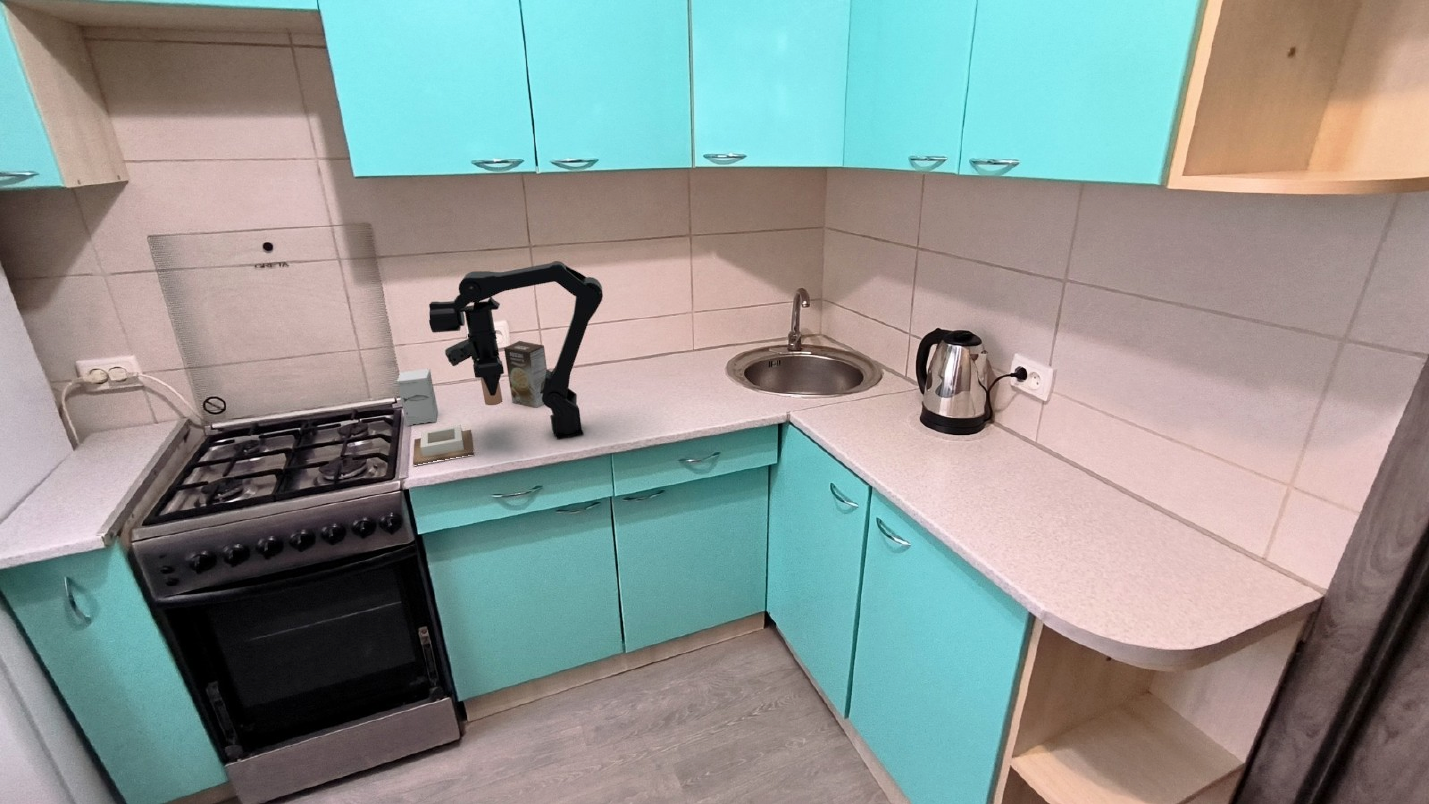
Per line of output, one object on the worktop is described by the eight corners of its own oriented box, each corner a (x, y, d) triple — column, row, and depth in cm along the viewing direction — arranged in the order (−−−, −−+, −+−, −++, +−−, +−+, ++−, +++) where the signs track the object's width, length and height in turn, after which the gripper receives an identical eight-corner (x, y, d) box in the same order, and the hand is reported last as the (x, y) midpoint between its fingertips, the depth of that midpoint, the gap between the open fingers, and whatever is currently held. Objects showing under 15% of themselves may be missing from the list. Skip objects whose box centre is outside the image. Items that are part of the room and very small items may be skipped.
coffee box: (511, 402, 185) (502, 347, 178) (527, 394, 190) (518, 340, 183) (536, 408, 181) (528, 351, 174) (552, 399, 186) (544, 344, 179)
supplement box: (406, 426, 172) (395, 381, 167) (409, 415, 179) (399, 371, 174) (436, 422, 174) (426, 377, 169) (439, 411, 180) (430, 367, 175)
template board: (471, 433, 167) (469, 420, 166) (473, 455, 156) (471, 442, 155) (415, 442, 163) (412, 429, 162) (413, 466, 152) (410, 453, 151)
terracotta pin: (501, 397, 162) (496, 366, 159) (503, 403, 159) (497, 372, 156) (484, 400, 161) (478, 369, 158) (485, 406, 158) (479, 374, 154)
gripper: (443, 322, 158) (455, 384, 164) (444, 345, 142) (457, 412, 148) (492, 316, 162) (502, 377, 168) (498, 338, 146) (509, 404, 152)
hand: (492, 392), depth 159 cm, fingers closed on terracotta pin, 4 cm apart
